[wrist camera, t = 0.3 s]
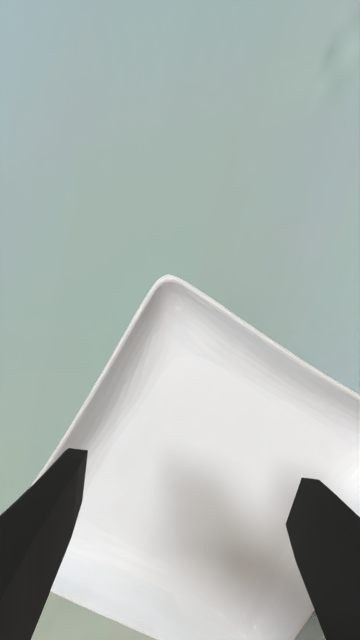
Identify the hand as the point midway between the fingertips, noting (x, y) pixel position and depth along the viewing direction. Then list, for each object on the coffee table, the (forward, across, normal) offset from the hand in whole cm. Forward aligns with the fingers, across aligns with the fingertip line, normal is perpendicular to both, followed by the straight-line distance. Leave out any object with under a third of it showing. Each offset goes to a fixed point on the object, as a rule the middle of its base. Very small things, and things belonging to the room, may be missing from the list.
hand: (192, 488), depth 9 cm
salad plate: (+10, -4, +8) cm, 13 cm away
